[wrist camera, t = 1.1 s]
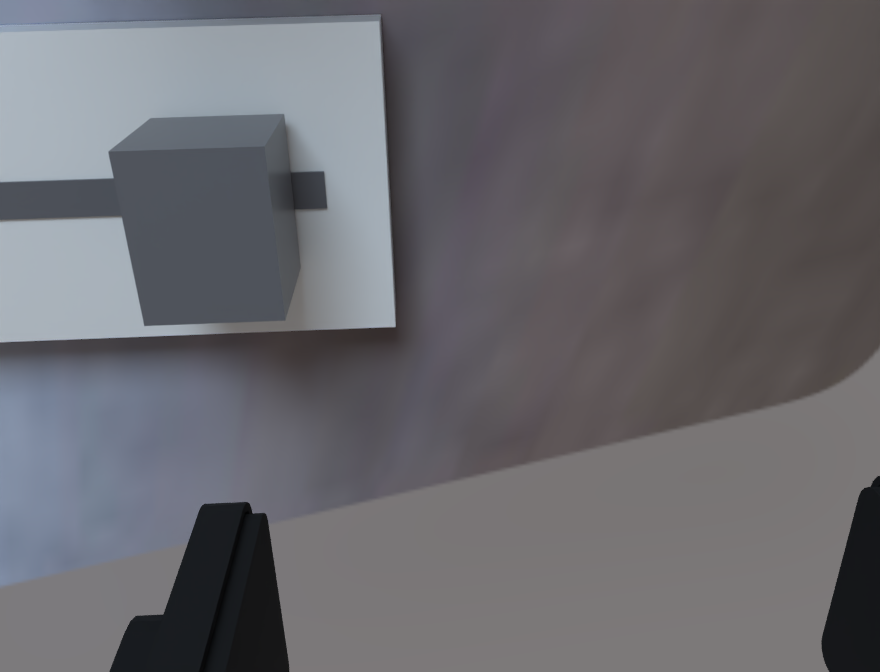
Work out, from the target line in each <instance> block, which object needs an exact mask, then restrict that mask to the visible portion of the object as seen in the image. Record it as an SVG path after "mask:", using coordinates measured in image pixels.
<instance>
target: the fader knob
mask: <svg viewBox="0 0 880 672" xmlns="http://www.w3.org/2000/svg"><path fill="white" fill-rule="evenodd" d="M108 153H109V158H110V163H111V168H112V173H113V177H114V182H115V187H116V192H117V197H118V202H119V206H120V211H121V216H122V221H123V226H124V230H125V235H126V240H127V245H128V250H129V255H130V259H131V264H132V269H133V274H134V279H135V284H136V288H137V293H138V298H139V303H140V308H141V312H142V317H143V322H144V326H159V325H185V324H211V323H237V322H263V321H285V320H286V317H287V314H288V310H289V307H290V303H291V300H292V296H293V293H294V289H295V286H296V283H297V279H298V276H299V272H300V269H301V265H300V256H299V247H298V237H297V228H296V219H295V209H294V200H293V191H292V181H291V172H290V163H289V153H288V144H287V135H286V126H285V116H284V114H264V115H233V116H201V117H170V118H150V119H149V120H148V121H146V122H145V123H144V124H142V125H141V126H140V127H139V128H137V129H136V130H135V131H134V132H132V133H131V134H130V135H129V136H127V137H126V138H125V139H123V140H122V141H121V142H120V143H118V144H117V145H116V146H115V147H113V148H112V149H111V150H110V151H108Z"/></svg>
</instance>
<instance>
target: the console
mask: <svg viewBox="0 0 880 672" xmlns="http://www.w3.org/2000/svg"><path fill="white" fill-rule="evenodd" d="M264 114H284V116H285V126H286V135H287V144H288V153H289V163H290V172H291V181H292V191H293V200H294V209H295V219H296V228H297V237H298V247H299V256H300V265H301V269H300V272H299V276H298V279H297V283H296V286H295V289H294V293H293V296H292V300H291V303H290V307H289V310H288V314H287V317H286V320H285V321H263V322H237V323H211V324H185V325H159V326H144V322H143V317H142V312H141V308H140V303H139V298H138V293H137V288H136V284H135V279H134V274H133V269H132V264H131V259H130V255H129V250H128V245H127V240H126V235H125V230H124V226H123V221H122V216H121V211H120V206H119V202H118V197H117V192H116V187H115V182H114V177H113V173H112V168H111V163H110V158H109V153H108V151H110V150H111V149H112V148H113V147H115V146H116V145H117V144H118V143H120V142H121V141H122V140H123V139H125V138H126V137H127V136H129V135H130V134H131V133H132V132H134V131H135V130H136V129H137V128H139V127H140V126H141V125H142V124H144V123H145V122H146V121H148V120H149V119H150V118H170V117H201V116H233V115H264ZM381 327H396V295H395V275H394V256H393V237H392V218H391V198H390V179H389V160H388V140H387V121H386V102H385V83H384V63H383V44H382V25H381V14H374V15H339V16H304V17H270V18H235V19H200V20H165V21H130V22H95V23H61V24H26V25H0V342H21V341H46V340H72V339H98V338H124V337H149V336H175V335H201V334H226V333H252V332H278V331H304V330H329V329H355V328H381Z"/></svg>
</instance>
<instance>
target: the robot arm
mask: <svg viewBox="0 0 880 672" xmlns="http://www.w3.org/2000/svg"><path fill="white" fill-rule="evenodd" d="M822 652H823V657H824V661H825V664H826V666H827V668H828V670H829V672H880V476H878V477H877V478H876V479H875V480H874V481H873V483H872V485H871V487H867V488H864V489H863V490H862V491H861V493H860V495H859V498H858V502H857V506H856V510H855V513H854V517H853V521H852V525H851V529H850V533H849V536H848V540H847V544H846V548H845V552H844V555H843V559H842V563H841V567H840V571H839V574H838V578H837V582H836V586H835V590H834V594H833V597H832V602H831V606H830V609H829V613H828V616H827V621H826V624H825V628H824V632H823V636H822ZM110 672H289V661H288V655H287V648H286V641H285V635H284V628H283V621H282V614H281V608H280V601H279V593H278V587H277V580H276V573H275V566H274V560H273V553H272V546H271V539H270V532H269V525H268V520H267V516H266V514H265V513H255V514H252V509H251V506H250V504H249V503H248V502H239V503H215V504H204V505H202V506H201V508H200V510H199V513H198V516H197V519H196V522H195V525H194V527H193V530H192V533H191V536H190V539H189V542H188V545H187V548H186V551H185V554H184V557H183V560H182V563H181V565H180V568H179V571H178V574H177V577H176V580H175V583H174V586H173V589H172V591H171V594H170V598H169V600H168V603H167V606H166V609H165V612H164V615H148V616H147V615H145V616H136V617H134V618H133V620H131V621H130V623H129V625H128V627H127V629H126V631H125V633H124V636H123V638H122V641H121V644H120V646H119V649H118V651H117V654H116V656H115V659H114V661H113V664H112V667H111V669H110Z"/></svg>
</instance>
